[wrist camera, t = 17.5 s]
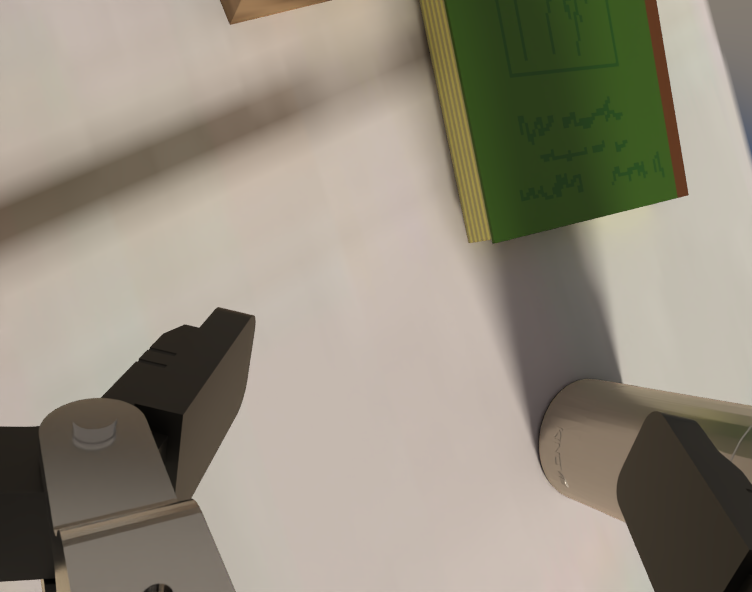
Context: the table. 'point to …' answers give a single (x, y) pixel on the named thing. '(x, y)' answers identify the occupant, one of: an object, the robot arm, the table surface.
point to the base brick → (260, 8)
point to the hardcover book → (553, 110)
